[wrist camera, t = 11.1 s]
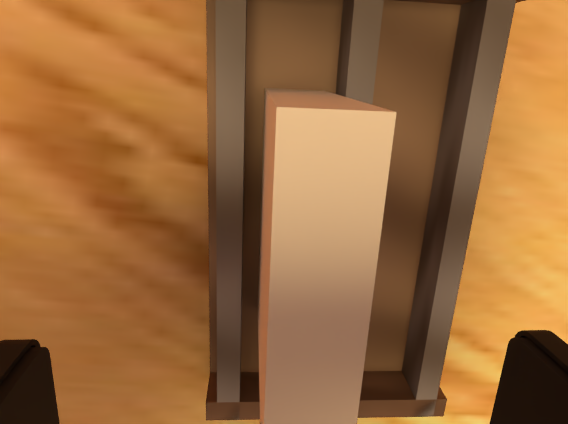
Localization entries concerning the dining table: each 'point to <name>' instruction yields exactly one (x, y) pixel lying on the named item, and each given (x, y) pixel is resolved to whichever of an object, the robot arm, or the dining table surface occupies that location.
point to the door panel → (318, 251)
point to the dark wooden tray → (401, 180)
